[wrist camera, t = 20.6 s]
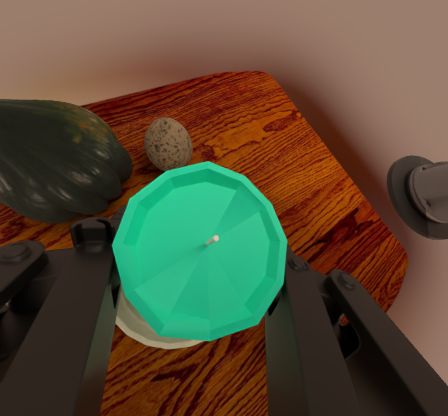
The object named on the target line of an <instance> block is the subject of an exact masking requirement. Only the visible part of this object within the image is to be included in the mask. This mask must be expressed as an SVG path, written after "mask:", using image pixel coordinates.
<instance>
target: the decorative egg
mask: <svg viewBox="0 0 448 416" xmlns="http://www.w3.org/2000/svg"><path fill="white" fill-rule="evenodd" d="M144 146H145V151H146V154H147V156H148V158H149V160H150V161H151V162H152V164H153V165H155V166H156V167H157V168H159V169H160V170H163V171H168V170H172V169H177V168H181V167H185V166H186V165H187V164H188V163H189V161H190V159H191V156H192V142H191V139H190V136H189V134H188V132H187V131H186V129H185V128H184V127H183V126H182V125H181V124H180V123H178V122H177V121H175V120H174V119H171V118H167V117H163V118H159V119H157V120H155V121H154V122H153V123H152V124H151V125H150V126H149V128H148V130H147V132H146V134H145V139H144Z"/></svg>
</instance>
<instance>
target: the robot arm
mask: <svg viewBox="0 0 448 416" xmlns="http://www.w3.org/2000/svg"><path fill="white" fill-rule="evenodd" d="M405 191H406V194H407V197H408V199H409V201H410V203H411V205H412V206H413V208H414V209H415V210H416V211H417V212H418V213H419V214H420V215H421V216H422V217H423V218H425V219H426V220H428V221H430V222H432V223H437V224H441V223H448V162H439V163H435V164H428V165H422V166H419V167H417V168H414V169H412V170H410V171H409V172H408V173H407V175H406V178H405ZM127 205H128V204H126V205H124V206H122V207H120V209H119V210H118V211H117V212H116V214H114V215H113V217H112V218H111V219H108V218H106V217H89V218H85V219H82V220H79V221H77V222H75V223H73V224H72V225H71V226H70V227H69V229H70V233H71V237H72V241H73V245H74V247H73V248H67V249H58V250H49V251H46V249H45V246H44V245H43V244H42V243H41V242H37V241H20V242H15V243H11V244H8V245H5V246H2V247H0V383H1V384H0V416H99V415H100V409H101V404H102V398H103V392H104V386H105V381H106V375H107V369H108V363H109V358H110V352H111V346H112V340H113V335H114V329H115V323H116V317H117V312H118V306H119V300H120V294H121V279H120V275H119V271H118V268H117V264H116V260H115V256H114V252H113V248H112V244H113V241H114V239H115V236H116V233H117V231H118V228H119V226H120V223H121V220H122V218H123V215H124V213H125V210H126V207H127ZM344 315H345V316H346V318H347V319H348V321H349V323H348V324H347V325H346V326H345V325H343V323H342V322H341V321H340V319H341V318H342V317H343V316H344ZM265 339H266V367H267V394H268V416H448V386H447V385H446V383H444V381H443V380H442V379H441V378H440V377H439V375H438V374H437V373H436V372H435V371H434V369H433V368H432V367H431V366H430V365H429V364H428V362H427V361H426V360H425V359H424V358H423V357H422V355H421V354H420V353H419V352H418V351H417V349H416V348H415V347H414V346H413V345H412V344H411V342H410V341H409V340H408V339H407V338H406V337H405V335H404V334H403V333H402V332H401V331H400V330H399V328H398V327H397V326H396V325H395V324H394V323H393V321H392V320H391V319H390V318H389V317H388V315H387V314H386V313H385V312H384V311H383V310H382V308H381V307H380V306H379V305H378V304H377V302H376V301H375V300H374V299H373V298H372V297H371V295H370V294H369V293H368V292H367V291H366V290H365V288H364V287H363V286H362V285H361V284H360V283H359V282H358V281H357V280H356V279H355V278H354V277H353V276H351V275H350V274H349V273H347V272H344V271H342V270H338V269H334V270H332V271H331V272H330V273H329V274H328V276H327V275H324V274H321V273H319V272H316V271H313V270H312V268H311V267H310V265H309V264H308V263H307V262H306V261H305V260H304V259H302V258H301V257H299V256H296V255H294V253H293V252H292V250H291V248H290V247H289V245H288V243H287V250H286V261H285V272H284V283H283V286H282V287H281V289H280V290H279V292H278V293H277V295H276V297H275V298H274V300H273V301H272V303H271V305H270V306H269V308H268V309H267V311H266V313H265Z"/></svg>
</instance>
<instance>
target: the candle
mask: <svg viewBox="0 0 448 416" xmlns="http://www.w3.org/2000/svg"><path fill="white" fill-rule="evenodd" d="M112 248H113V252H114V256H115V260H116V264H117V268H118V271H119V275H120V279H121V283H122V287H123V291H124V295H125V296H126V298H127V299H128V300H129V301H130V302H131V304H132V305H133V306H134V307H135V308H136V310H137V311H138V312H139V313H140V314H141V316H142V317H143V318H144V319H145V320H146V322H147V323H148V324H149V325H150V326H151V328H152V329H153V330H154V331H155V332H156V334H157V335H158V336H161V337H171V338H182V339H192V340H202V341H212V340H215V339H218V338H221V337H224V336H226V335H229V334H232V333H235V332H238V331H241V330H244V329H246V328H249V327H252V326H255V325H258V324H259V322H260V320H261V319H262V317H263V316H264V314H265V313H266V311H267V309H268V308H269V306H270V305H271V303H272V301H273V300H274V298H275V297H276V295H277V293H278V292H279V290H280V289H281V287H282V286H283V283H284V272H285V261H286V250H287V239H286V236H285V234H284V232H283V229H282V227H281V225H280V222H279V220H278V218H277V215H276V213H275V211H274V208H273V206H272V204H271V203H270V202H269V201H268V200H267V199H266V198H265V196H264V195H263V194H262V193H261V192H260V191H259V190H258V189H257V188H256V187H255V186H254V185H253V184H252V183H251V182H250V181H249V180H248V179H247V178H246V177H245V176H244V175H241V174H239V173H236V172H234V171H231V170H229V169H226V168H224V167H221V166H219V165H216V164H214V163H211V162H209V161H207V162H203V163H198V164H194V165H190V166H185V167H181V168H177V169H172V170H168V171H165V172H164V173H163V174H162V175H160V176H159V177H158V178H156V179H155V180H154V181H152V182H151V183H150V184H148V185H147V186H146V187H144V188H143V189H142V190H141V191H139V192H138V193H137V194H135V195H134V196H133V197H131V198H130V200H129V202H128V205H127V207H126V210H125V213H124V215H123V218H122V220H121V223H120V226H119V228H118V231H117V233H116V236H115V239H114V241H113V244H112Z"/></svg>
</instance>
